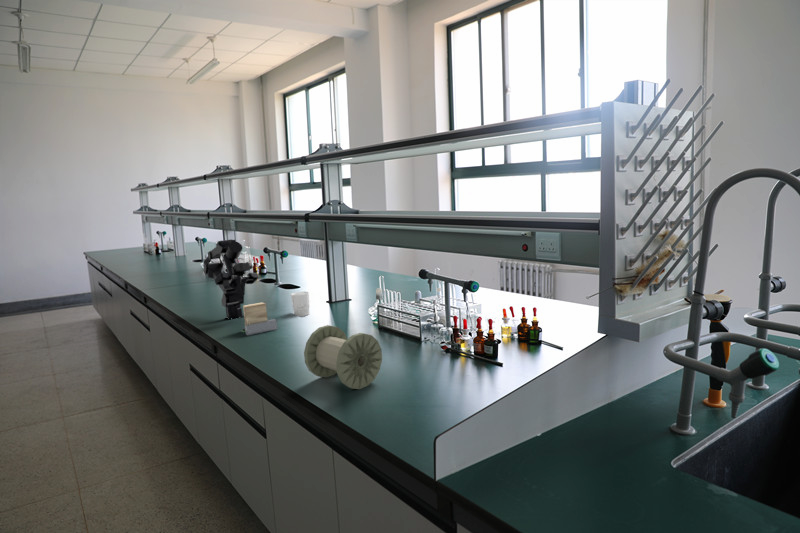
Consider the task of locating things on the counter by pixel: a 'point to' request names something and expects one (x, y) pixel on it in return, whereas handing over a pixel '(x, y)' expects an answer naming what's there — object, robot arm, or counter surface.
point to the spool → (343, 356)
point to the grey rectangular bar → (260, 327)
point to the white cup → (300, 303)
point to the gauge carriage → (254, 313)
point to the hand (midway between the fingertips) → (243, 295)
